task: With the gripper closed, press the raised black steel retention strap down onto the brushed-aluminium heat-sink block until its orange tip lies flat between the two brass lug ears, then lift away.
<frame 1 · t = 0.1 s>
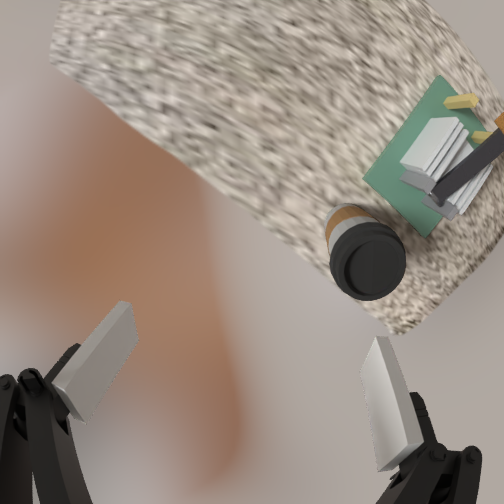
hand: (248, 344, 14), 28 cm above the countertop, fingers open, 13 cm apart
heatsink base: (434, 155, 33), on the countertop
coffee cup: (344, 223, 39), on the countertop
strap: (475, 162, 23), point 11 cm above the countertop, hinge at 28.0°
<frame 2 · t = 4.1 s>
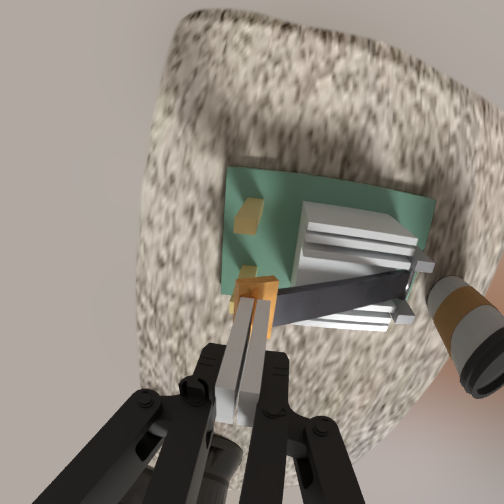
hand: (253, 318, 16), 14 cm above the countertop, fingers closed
heatsink base: (328, 244, 29), on the countertop
coffee cup: (444, 294, 29), on the countertop
strap: (343, 295, 19), point 10 cm above the countertop, hinge at 26.7°, touching gripper
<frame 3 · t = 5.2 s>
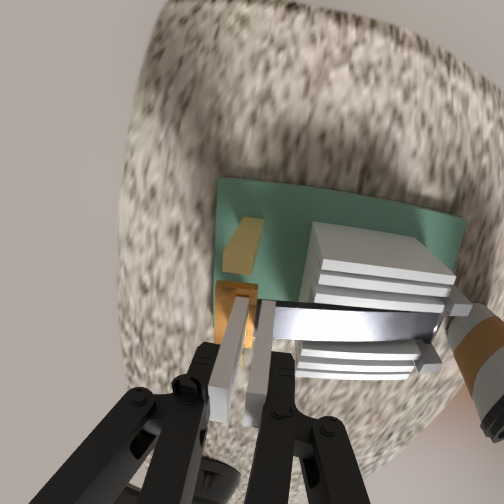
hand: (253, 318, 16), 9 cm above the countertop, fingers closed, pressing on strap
heatsink base: (341, 272, 23), on the countertop
coffee cup: (465, 322, 24), on the countertop
strap: (344, 323, 16), point 8 cm above the countertop, hinge at 4.9°, touching gripper
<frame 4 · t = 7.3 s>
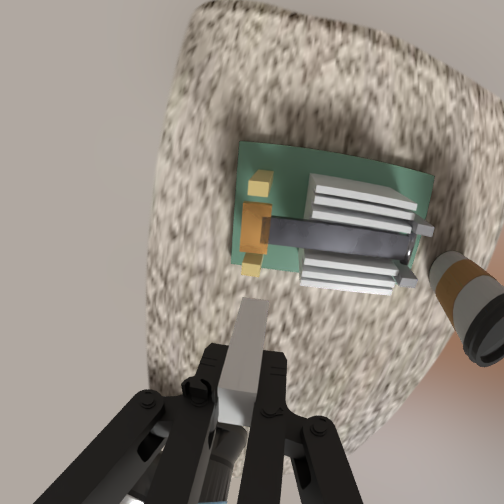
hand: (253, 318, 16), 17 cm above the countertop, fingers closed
heatsink base: (334, 215, 30), on the countertop
coffee cup: (445, 270, 31), on the countertop
strap: (334, 237, 23), point 7 cm above the countertop, hinge at 2.0°
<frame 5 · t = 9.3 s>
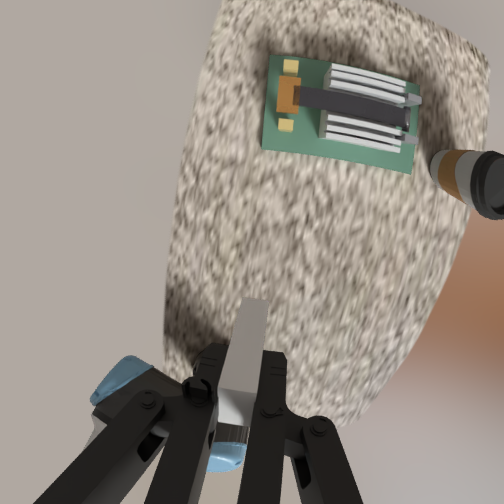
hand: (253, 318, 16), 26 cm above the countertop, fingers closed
heatsink base: (344, 112, 33), on the countertop
coffee cup: (443, 169, 34), on the countertop
strap: (348, 104, 27), point 7 cm above the countertop, hinge at 2.0°
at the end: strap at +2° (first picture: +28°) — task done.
